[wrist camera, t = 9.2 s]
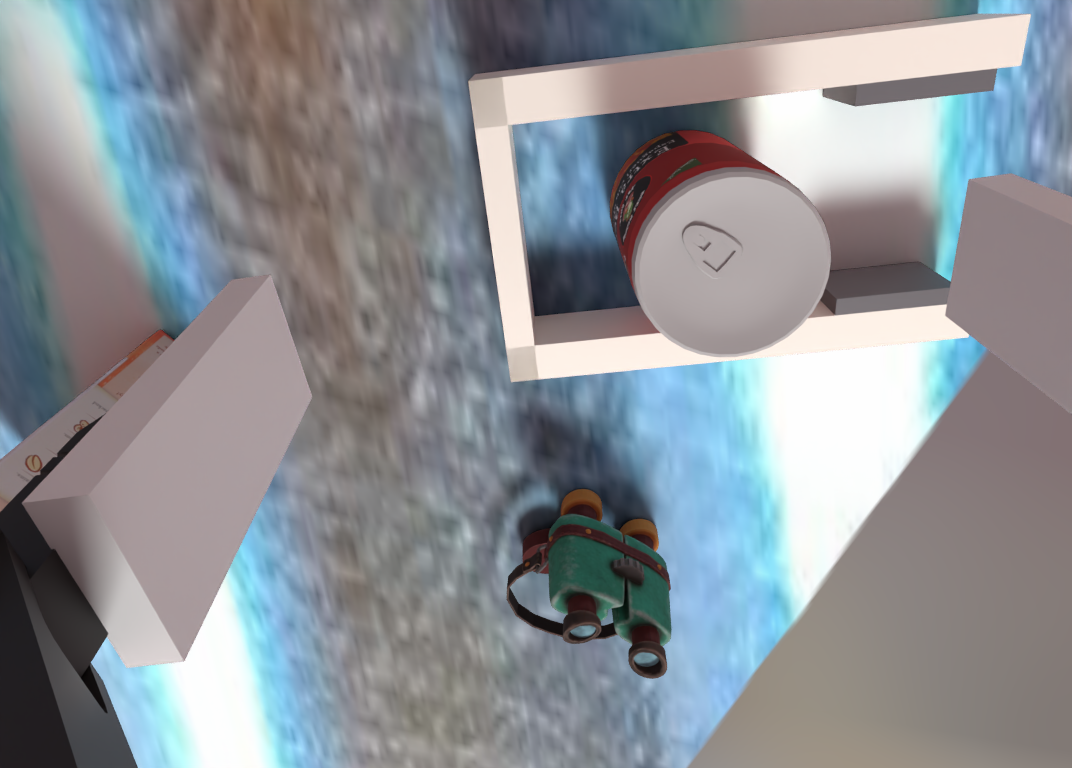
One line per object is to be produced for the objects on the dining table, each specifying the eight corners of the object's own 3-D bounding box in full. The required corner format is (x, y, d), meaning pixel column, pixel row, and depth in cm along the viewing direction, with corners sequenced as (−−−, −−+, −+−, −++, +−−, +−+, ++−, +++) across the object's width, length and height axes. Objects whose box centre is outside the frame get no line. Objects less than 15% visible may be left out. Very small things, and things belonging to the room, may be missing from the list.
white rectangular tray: (475, 74, 34) (468, 81, 31) (978, 13, 33) (1031, 13, 30) (513, 350, 41) (510, 382, 38) (930, 308, 40) (968, 337, 37)
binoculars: (477, 691, 41) (572, 597, 36) (496, 556, 50) (574, 465, 45) (604, 744, 43) (709, 662, 38) (600, 606, 52) (685, 524, 47)
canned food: (644, 102, 35) (686, 137, 25) (784, 162, 36) (875, 217, 27) (584, 242, 38) (600, 320, 29) (714, 293, 40) (772, 384, 30)
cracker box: (156, 320, 41) (-161, 580, 22) (242, 388, 43) (19, 677, 24) (33, 458, 45) (-318, 770, 27) (116, 514, 47) (-155, 839, 29)
